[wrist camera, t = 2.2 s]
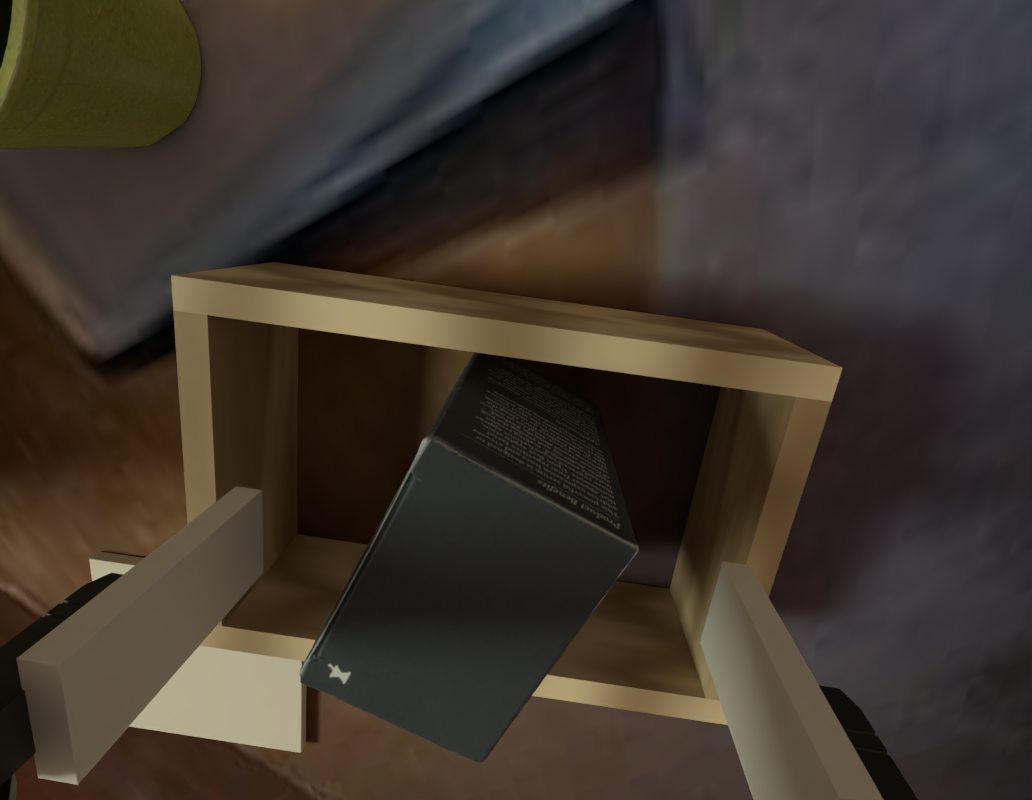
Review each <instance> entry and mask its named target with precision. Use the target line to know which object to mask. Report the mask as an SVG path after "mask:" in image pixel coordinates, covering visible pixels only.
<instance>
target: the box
mask: <svg viewBox="0 0 1032 800" xmlns="http://www.w3.org/2000/svg"><path fill="white" fill-rule="evenodd" d="M638 551H639V547H638V544H637V541H636V538H635V535H634V532H633V529H632V526H631V523H630V518H629V516H628V512H627V508H626V504H625V501H624V497H623V494H622V491H621V487H620V482H619V480H618V476H617V473H616V470H615V465H614V462H613V459H612V455H611V451H610V448H609V444H608V441H607V437H606V433H605V430H604V426H603V423H602V420H601V416H600V413H599V409H598V408H597V407H596V406H595V405H593V404H591V403H589V402H588V401H586V400H584V399H582V398H580V397H579V396H577V395H575V394H573V393H571V392H570V391H568V390H567V389H565V388H563V387H561V386H559V385H558V384H556V383H554V382H552V381H551V380H549V379H547V378H545V377H544V376H542V375H540V374H538V373H536V372H535V371H533V370H531V369H530V368H528V367H526V366H524V365H523V364H521V363H519V362H517V361H515V360H514V359H512V358H510V357H505V356H498V355H491V354H484V353H476V352H474V354H473V356H472V357H471V359H470V361H469V362H468V364H467V366H466V367H465V369H464V371H463V372H462V374H461V376H460V377H459V379H458V381H457V383H456V384H455V386H454V388H453V389H452V391H451V393H450V395H449V397H448V398H447V400H446V402H445V404H444V406H443V407H442V409H441V411H440V413H439V414H438V416H437V418H436V420H435V421H434V423H433V425H432V427H431V428H430V430H429V432H428V434H427V435H426V436H425V437H424V438H423V439H422V441H421V443H420V446H419V449H418V451H417V454H416V456H415V458H414V460H413V462H412V464H411V466H410V468H409V470H408V471H407V473H406V475H405V477H404V479H403V481H402V483H401V484H400V486H399V488H398V490H397V491H396V494H395V496H394V497H393V499H392V501H391V503H390V505H389V507H388V509H387V510H386V512H385V514H384V516H383V518H382V520H381V522H380V524H379V525H378V527H377V529H376V531H375V533H374V535H373V536H372V538H371V540H370V542H369V544H368V545H367V547H366V549H365V551H364V553H363V555H362V557H361V558H360V560H359V562H358V564H357V566H356V568H355V569H354V571H353V573H352V575H351V577H350V579H349V581H348V582H347V584H346V586H345V588H344V590H343V591H342V593H341V595H340V597H339V599H338V600H337V602H336V604H335V606H334V608H333V610H332V612H331V613H330V615H329V617H328V619H327V621H326V622H325V624H324V626H323V628H322V630H321V631H320V633H319V635H318V637H317V639H316V641H315V643H314V645H313V647H312V649H311V650H310V652H309V654H308V656H307V658H306V659H305V662H304V664H303V666H302V667H301V669H300V673H299V675H300V678H301V679H300V682H301V683H302V684H303V685H307V686H309V687H312V688H315V689H317V690H319V691H322V692H325V693H327V694H329V695H332V696H334V697H336V698H337V699H340V700H342V701H344V702H346V703H348V704H351V705H353V706H355V707H357V708H359V709H361V710H363V711H365V712H368V713H370V714H372V715H374V716H376V717H378V718H380V719H382V720H384V721H386V722H388V723H390V724H392V725H394V726H397V727H399V728H401V729H403V730H405V731H408V732H410V733H412V734H414V735H416V736H418V737H420V738H423V739H425V740H427V741H429V742H431V743H433V744H436V745H438V746H441V747H443V748H445V749H447V750H449V751H452V752H454V753H457V754H459V755H462V756H464V757H467V758H469V759H472V760H474V761H477V762H483V761H484V760H485V759H486V758H487V756H488V755H489V754H490V752H491V751H492V750H493V748H494V747H495V745H496V744H497V743H498V741H499V740H500V738H501V737H502V736H503V734H504V733H505V731H506V730H507V729H508V727H509V726H510V725H511V723H512V722H513V721H514V719H515V718H516V717H517V715H518V714H519V712H520V711H521V710H522V708H523V707H524V705H525V704H526V703H527V701H528V700H529V699H530V697H531V696H532V695H533V693H534V692H535V691H536V689H537V688H538V687H539V685H540V684H541V682H542V681H543V679H544V678H545V677H546V675H547V674H548V673H549V671H550V670H551V669H552V668H553V666H554V665H555V663H556V662H557V661H558V659H559V658H560V657H561V655H562V654H563V653H564V651H565V650H566V648H567V647H568V646H569V644H570V643H571V641H572V640H573V639H574V637H575V636H576V635H577V633H578V632H579V631H580V629H581V628H582V627H583V625H584V624H585V623H586V621H587V620H588V618H589V617H590V616H591V615H592V613H593V612H594V610H595V609H596V608H597V606H598V605H599V604H600V602H601V601H602V600H603V598H604V597H605V596H606V594H607V593H608V591H609V590H610V588H611V587H612V586H613V584H614V583H615V582H616V580H617V579H618V578H619V576H620V575H621V574H622V572H623V571H624V570H625V569H626V567H627V566H628V565H629V563H630V562H631V560H632V559H633V558H634V557H635V555H636V554H637V553H638Z"/></svg>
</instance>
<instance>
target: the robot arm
mask: <svg viewBox="0 0 1032 800" xmlns="http://www.w3.org/2000/svg"><path fill="white" fill-rule="evenodd" d="M262 573H263V511H262V490H258V489H251V488H245V487H238V486H236V487H235V488H233V489H232V490H231V491H229V492H228V493H227V494H226V495H224V496H223V497H222V498H220V499H219V500H218V501H217V502H215V503H214V504H213V505H212V506H210V507H209V508H208V509H206V510H205V511H204V512H203V513H201V514H200V515H199V516H198V517H196V518H195V519H194V520H192V521H191V522H190V523H189V524H187V525H186V526H185V527H184V528H182V529H181V530H180V531H178V532H177V533H176V534H175V535H173V536H172V537H171V538H169V539H168V540H167V541H166V542H164V543H163V544H162V545H161V546H159V547H158V548H157V549H155V550H154V551H153V552H152V553H150V554H149V555H148V556H147V557H145V558H144V559H143V560H141V561H140V562H139V563H138V564H136V565H135V566H134V567H133V568H131V569H130V570H129V571H127V572H126V573H125V574H124V575H123V574H117V573H110V574H107V575H105V576H103V577H101V578H99V579H96V580H94V581H92V582H90V583H88V584H85V585H84V586H82V587H81V588H80V589H78V590H77V591H76V592H74V593H73V594H72V595H70V596H69V597H68V598H66V599H65V600H64V601H63V603H62V604H58V605H57V606H55V607H54V608H53V609H51V610H50V611H49V612H47V613H46V615H45V617H41V618H39V619H38V620H37V621H35V622H34V623H33V624H31V625H30V626H28V627H27V628H26V629H24V630H23V631H22V632H20V633H19V634H18V635H16V636H15V637H14V638H12V639H11V640H10V641H8V642H7V643H6V644H4V645H3V646H2V647H0V800H15V798H16V790H17V784H16V779H15V774H14V773H15V772H16V771H17V770H18V769H19V768H20V767H21V766H22V765H23V764H24V763H25V762H26V761H27V760H28V759H29V758H30V757H31V756H32V755H33V754H34V757H35V763H36V768H37V773H38V778H42V779H48V780H54V781H59V782H65V783H71V784H76V785H78V784H79V783H80V782H81V781H82V779H83V778H84V777H85V776H86V775H87V774H88V773H89V771H90V770H91V769H92V768H93V767H94V766H95V765H96V763H97V762H98V761H99V760H100V759H101V758H102V757H103V755H104V754H105V753H106V752H107V751H108V750H109V749H110V747H111V746H112V745H113V744H114V743H115V742H116V741H117V739H118V738H119V737H120V736H121V735H122V734H123V732H124V731H125V730H126V729H127V728H128V727H129V726H130V724H131V723H132V722H133V721H134V720H135V719H136V718H137V716H138V715H139V714H140V713H141V712H142V711H143V710H144V708H145V707H146V706H147V705H148V704H149V703H150V702H151V700H152V699H153V698H154V697H155V696H156V695H157V694H158V692H159V691H160V690H161V689H162V688H163V687H164V686H165V684H166V683H167V682H168V681H169V680H170V679H171V677H172V676H173V675H174V674H175V673H176V672H177V671H178V669H179V668H180V667H181V666H182V665H183V664H184V663H185V661H186V660H187V659H188V658H189V657H190V656H191V655H192V653H193V652H194V651H195V650H196V649H197V648H198V647H199V645H200V644H201V643H202V642H203V641H204V640H205V639H206V637H207V636H208V635H209V634H210V633H211V632H212V631H213V629H214V628H215V627H216V626H217V625H218V624H219V623H220V621H221V620H222V619H223V618H224V617H225V616H226V614H227V613H228V612H229V611H230V610H231V609H232V608H233V606H234V605H235V604H236V603H237V602H238V601H239V600H240V598H241V597H242V596H243V595H244V594H245V593H246V592H247V590H248V589H249V588H250V587H251V586H252V585H253V584H254V582H255V581H256V580H257V579H258V578H259V577H260V576H261V574H262ZM700 644H701V647H702V650H703V653H704V656H705V659H706V662H707V665H708V667H709V670H710V673H711V676H712V679H713V682H714V685H715V688H716V691H717V694H718V697H719V700H720V703H721V706H722V709H723V712H724V714H725V717H726V720H727V723H728V726H729V729H730V732H731V735H732V738H733V741H734V744H735V747H736V750H737V753H738V756H739V759H740V761H741V764H742V767H743V770H744V773H745V776H746V779H747V782H748V785H749V788H750V791H751V794H752V797H753V800H918V799H917V798H916V796H915V795H914V793H913V791H912V790H911V788H910V787H909V785H908V783H907V782H906V780H905V779H904V777H903V775H902V774H901V772H900V771H899V769H898V768H897V766H896V764H895V763H894V761H893V760H892V758H891V756H888V755H887V750H886V748H885V747H884V745H883V744H882V742H881V741H880V739H879V737H877V736H875V731H874V729H873V728H872V726H871V725H870V723H869V721H868V720H867V718H866V717H865V715H864V714H863V712H862V710H861V709H860V708H859V707H858V706H857V705H856V704H855V703H854V702H853V701H852V700H851V699H849V698H848V697H847V696H846V695H845V694H844V693H843V692H842V691H841V690H840V689H837V688H831V687H825V686H819V685H818V684H817V682H816V680H815V678H814V677H813V675H812V673H811V671H810V670H809V668H808V666H807V664H806V663H805V661H804V659H803V657H802V655H801V654H800V652H799V650H798V648H797V647H796V645H795V643H794V641H793V640H792V638H791V636H790V634H789V633H788V631H787V629H786V627H785V626H784V624H783V622H782V620H781V619H780V617H779V615H778V613H777V612H776V610H775V608H774V606H773V605H772V603H771V601H770V599H769V598H768V596H767V594H766V592H765V591H764V589H763V587H762V585H761V584H760V582H759V580H758V578H757V576H756V575H755V573H754V571H753V569H752V568H751V566H749V565H743V564H736V563H730V562H722V565H721V569H720V572H719V576H718V580H717V583H716V587H715V590H714V594H713V597H712V601H711V604H710V608H709V612H708V615H707V619H706V622H705V626H704V629H703V633H702V636H701V640H700Z"/></svg>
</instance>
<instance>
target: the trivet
mask: <svg viewBox="0 0 1032 800" xmlns="http://www.w3.org/2000/svg"><path fill="white" fill-rule="evenodd" d="M143 559H144V558H141V557H134V556H127V555H120V554H114V553H107V552H100V551H99V552H98V553H97V554H95V555H94V556H92V557H91V558H90V559H89V560H90V568H91V575H92V581H94V580H96V579H99V578H101V577H103V576H105V575H107V574H110V573H117V574H123V575H124V574H125V573H126V572H127V571H129V570H130V569H131V568H133V567H134V566H135V565H136V564H138V563H139V562H140V561H141V560H143ZM304 662H305V661H299V660H292V659H286V658H279V657H272V656H266V655H259V654H252V653H246V652H239V651H233V650H226V649H219V648H213V647H206V646H199V647H198V648H197V649H196V650H195V651H194V652H193V653H192V655H191V656H190V657H189V658H188V659H187V660H186V661H185V663H184V664H183V665H182V666H181V667H180V668H179V669H178V671H177V672H176V673H175V674H174V675H173V676H172V677H171V679H170V680H169V681H168V682H167V683H166V684H165V686H164V687H163V688H162V689H161V690H160V691H159V692H158V694H157V695H156V696H155V697H154V698H153V699H152V700H151V702H150V703H149V704H148V705H147V706H146V707H145V708H144V710H143V711H142V712H141V713H140V714H139V715H138V716H137V718H136V719H135V720H134V721H133V722H132V723H131V724H130V727H136V728H143V729H149V730H156V731H162V732H169V733H175V734H182V735H188V736H195V737H202V738H208V739H215V740H221V741H228V742H234V743H241V744H247V745H254V746H260V747H267V748H273V749H280V750H286V751H293V752H299V753H301V752H302V750H303V747H304V745H305V743H306V692H307V685H303V684H302V683H301V682H300V679H301V678H300V675H299V673H300V669H301V667H302V666H303V664H304Z"/></svg>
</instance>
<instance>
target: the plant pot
mask: <svg viewBox="0 0 1032 800" xmlns="http://www.w3.org/2000/svg"><path fill="white" fill-rule="evenodd" d="M200 80H201V55H200V48H199V43H198V39H197V35H196V32H195V29H194V27H193V25H192V23H191V21H190V19H189V17H188V16H187V14H186V12H185V10H184V8H183V6H182V4H181V2H180V1H179V0H0V149H9V148H76V147H105V148H106V147H144V146H149V145H152V144H153V143H155V142H156V141H158V140H159V139H161V138H162V137H164V136H166V135H167V134H169V133H170V132H171V131H173V130H174V129H176V128H177V127H179V126H180V125H182V124H183V123H184V122H185V121H186V119H187V118H188V116H189V115H190V113H191V111H192V109H193V106H194V104H195V102H196V98H197V95H198V91H199V86H200Z"/></svg>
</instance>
